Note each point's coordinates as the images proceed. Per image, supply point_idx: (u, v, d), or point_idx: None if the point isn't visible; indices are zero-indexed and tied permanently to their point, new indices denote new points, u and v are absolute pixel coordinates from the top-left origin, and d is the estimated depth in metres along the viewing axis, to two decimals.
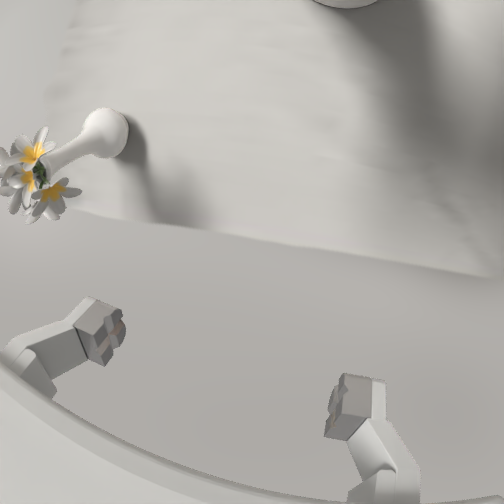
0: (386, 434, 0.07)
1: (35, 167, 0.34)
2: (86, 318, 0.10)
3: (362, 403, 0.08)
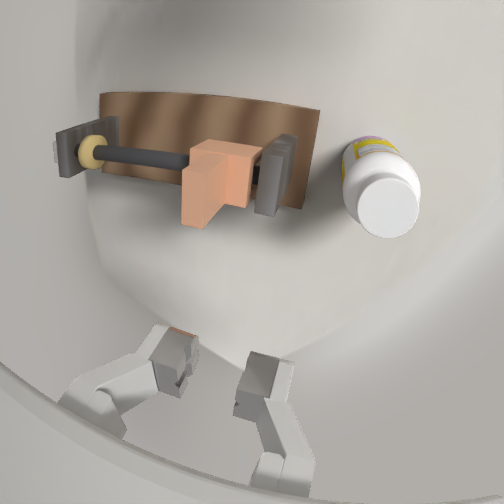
0: (282, 416, 0.08)
1: None
2: (163, 349, 0.09)
3: (262, 382, 0.09)
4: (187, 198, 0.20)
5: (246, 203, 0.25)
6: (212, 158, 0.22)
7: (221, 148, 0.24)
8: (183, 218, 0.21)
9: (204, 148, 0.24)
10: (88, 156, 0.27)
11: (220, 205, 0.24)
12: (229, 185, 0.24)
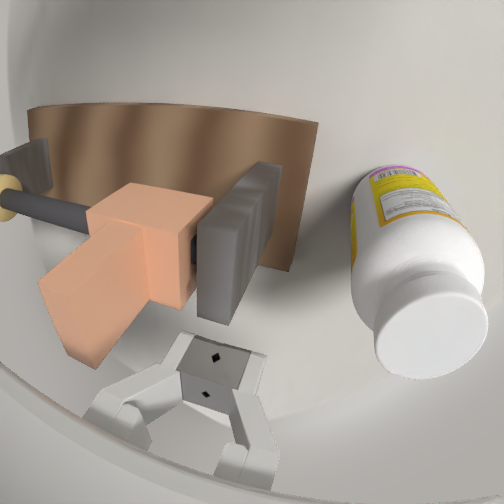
0: (249, 408, 0.08)
1: None
2: (190, 359, 0.09)
3: (231, 373, 0.09)
4: (60, 325, 0.10)
5: (182, 302, 0.15)
6: (106, 239, 0.12)
7: (137, 207, 0.14)
8: (66, 349, 0.11)
9: (107, 210, 0.13)
10: None
11: (137, 310, 0.14)
12: (150, 274, 0.14)
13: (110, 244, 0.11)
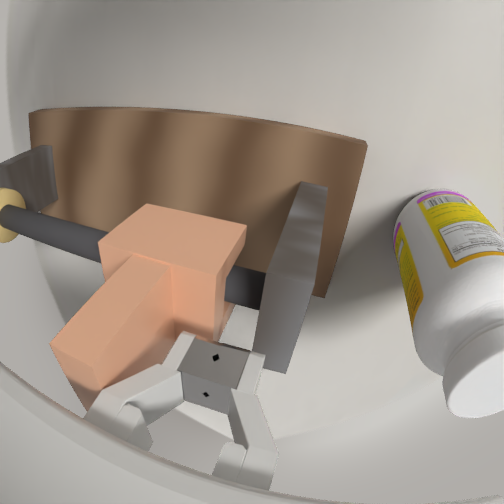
0: (248, 408, 0.08)
1: None
2: (191, 359, 0.09)
3: (230, 373, 0.09)
4: (79, 387, 0.08)
5: None
6: (129, 282, 0.10)
7: (160, 238, 0.12)
8: (86, 407, 0.09)
9: (124, 242, 0.11)
10: None
11: (163, 356, 0.12)
12: (178, 316, 0.12)
13: (135, 290, 0.09)
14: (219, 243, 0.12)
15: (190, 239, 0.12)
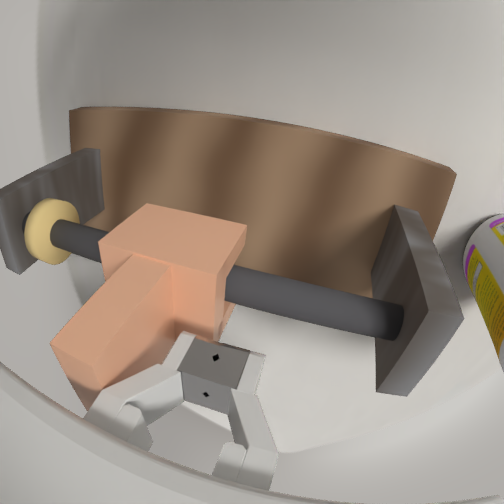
0: (248, 407, 0.08)
1: None
2: (191, 359, 0.09)
3: (230, 373, 0.09)
4: (79, 387, 0.08)
5: None
6: (129, 282, 0.10)
7: (160, 238, 0.12)
8: (86, 406, 0.09)
9: (125, 242, 0.11)
10: (42, 246, 0.14)
11: (163, 356, 0.12)
12: (178, 316, 0.12)
13: (135, 289, 0.09)
14: (219, 243, 0.12)
15: (190, 239, 0.12)
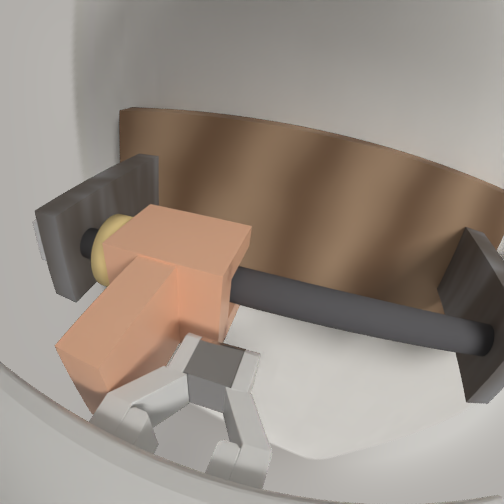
0: (242, 406, 0.08)
1: None
2: (197, 361, 0.09)
3: (225, 371, 0.09)
4: (84, 390, 0.08)
5: None
6: (135, 284, 0.10)
7: (165, 239, 0.12)
8: (91, 409, 0.09)
9: (129, 243, 0.11)
10: None
11: (168, 357, 0.12)
12: (183, 317, 0.12)
13: (141, 291, 0.09)
14: (225, 244, 0.12)
15: (195, 240, 0.12)
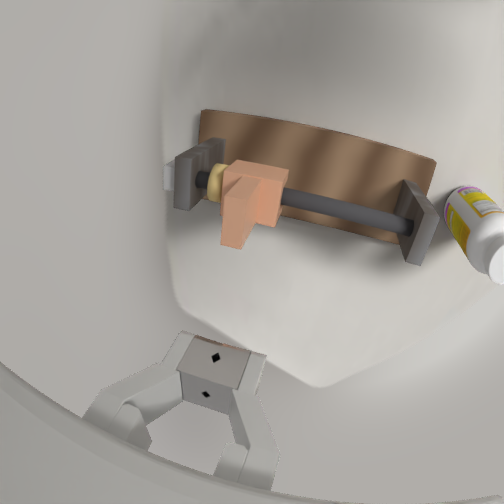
0: (249, 408, 0.08)
1: None
2: (190, 359, 0.09)
3: (231, 373, 0.09)
4: (228, 221, 0.23)
5: (275, 223, 0.27)
6: (248, 182, 0.24)
7: (252, 171, 0.26)
8: (222, 239, 0.23)
9: (237, 171, 0.26)
10: (221, 189, 0.28)
11: (252, 225, 0.26)
12: (260, 206, 0.27)
13: (251, 184, 0.24)
14: (279, 174, 0.27)
15: (266, 172, 0.27)
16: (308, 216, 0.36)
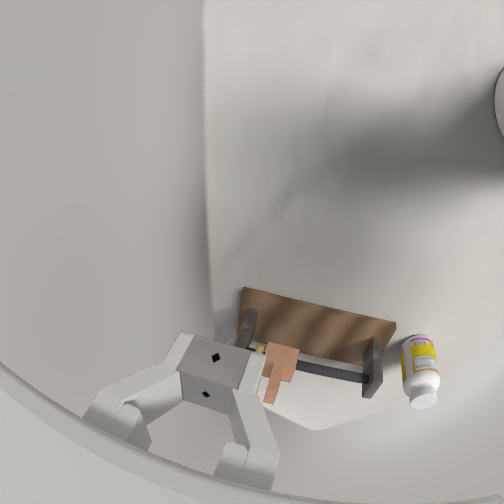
0: (249, 408, 0.08)
1: None
2: (190, 359, 0.09)
3: (231, 373, 0.09)
4: (267, 395, 0.42)
5: (290, 380, 0.46)
6: (277, 371, 0.43)
7: (279, 357, 0.46)
8: (264, 400, 0.43)
9: (270, 359, 0.45)
10: None
11: None
12: (282, 375, 0.46)
13: (279, 373, 0.43)
14: (294, 357, 0.46)
15: (286, 356, 0.46)
16: (310, 352, 0.56)
